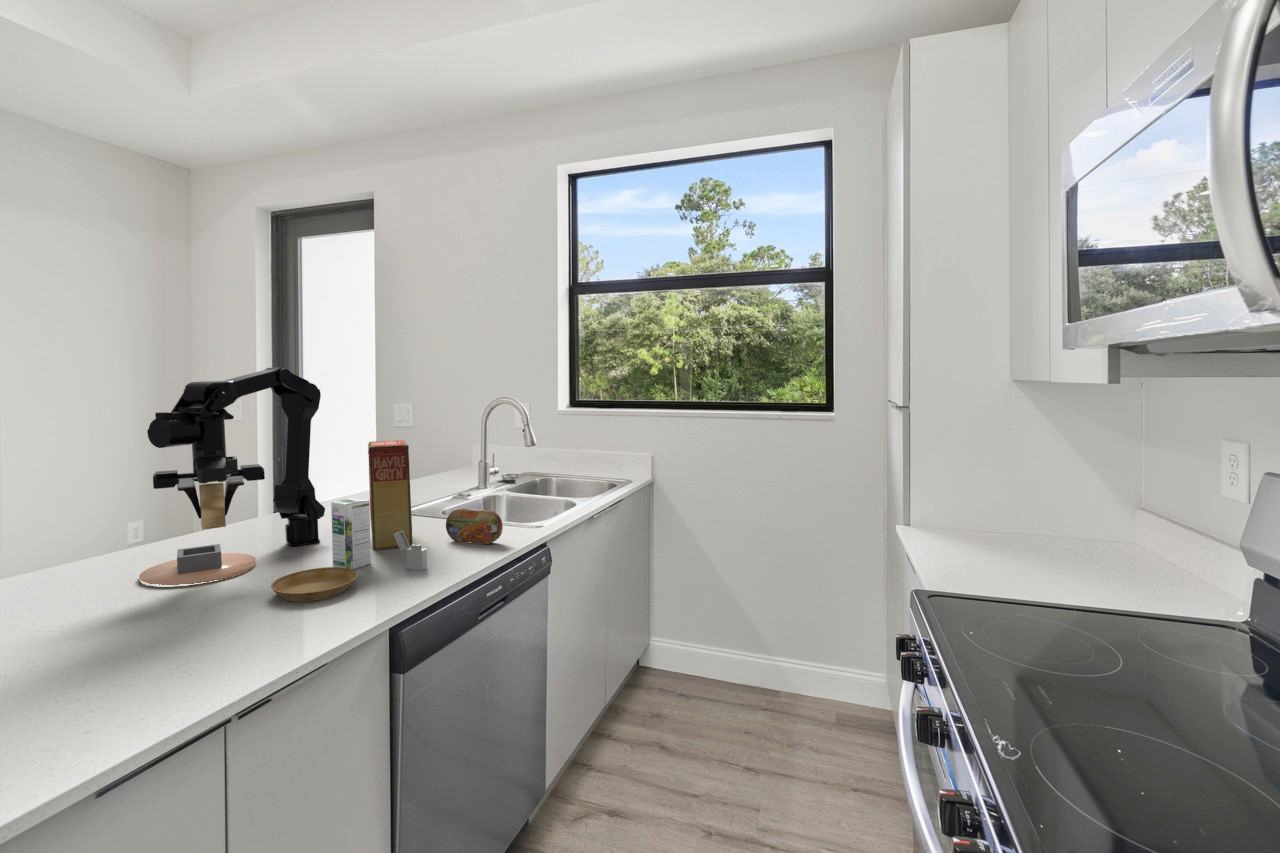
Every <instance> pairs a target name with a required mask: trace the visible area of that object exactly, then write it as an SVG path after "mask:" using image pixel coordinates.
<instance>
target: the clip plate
mask: <svg viewBox="0 0 1280 853" xmlns="http://www.w3.org/2000/svg"><path fill="white" fill-rule="evenodd" d="M255 565H257V560H256V557H255V556H253V555H251V554H247V553H240V552H239V553H238V552H222V549H221V544H220V543H217V544H209V545H200V546H194V547H186V548H185V547H184V548H178V549H177V554H176V559H173V560H170V561H167V562H166V561H165V562H163V563H159V564H155V565H153V566H150V567H149V568H146V569H145V570H143V571H142V572H140V574H139V576H138V579H140V580H141V581H143V582H146V583H149V584H159V585H160V584H161V585H179V584H194V583H201V582H209V581H214V580H221V579H225V578H229V577H232V576H235V575H238V574H241V575H243V574H245V573H244V572H246V571H248V570H250V569H251V570H252V568H253V567H254V566H255ZM255 567H256V566H255ZM255 567H254V568H255ZM254 568H253V569H254ZM251 570H250V571H251ZM248 572H249V571H248ZM242 573H243V574H242ZM246 573H247V572H246ZM238 576H239V575H238ZM235 577H236V576H235ZM232 578H233V577H232ZM229 579H230V578H229ZM140 580H139V581H140ZM225 580H226V579H225ZM221 581H222V580H221Z"/></svg>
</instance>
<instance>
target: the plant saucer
mask: <svg viewBox="0 0 1280 853" xmlns="http://www.w3.org/2000/svg"><path fill="white" fill-rule="evenodd" d="M357 577H358V572H357V571H356V570H355V569H353V570H352V569H348V568H340V567H333V566H328V567H327V566H326V567H317V568H316V567H315V568H309V569H304V570H300V571H296V572H292V573H289V574H286V575H283V576H281V577H279V578H277V579H275V580H273V581H272V583H271V584H270V588H271V590H272V591H273V592H275V594H276V595H278V596H279V597H281V598H283V599H285V600H287V601H289V600H290V602H298V601H303V602H312V601H320V600H321V601H322V600H324V599H329V598H332V597H335V596H338V595H340V594H341V593H343V592H345V591H346V590H347V589H349V588H350V586H351V585H352V584H353V582H354V581H355V580H356V579H357Z"/></svg>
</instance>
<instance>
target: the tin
mask: <svg viewBox="0 0 1280 853" xmlns="http://www.w3.org/2000/svg"><path fill="white" fill-rule="evenodd" d="M445 529H446V532H447V535H448V536H449V538H450V539H451V540H453V541H454V542H456V541H457V542H456V543H461V542H471V543H470V544H473V543H481V544H480V545H484V544H486V545H490V544H492V543H493V542H496V541H498V539H499V538H500V537H501V535H502V533H503V529H504V528H503V521H502V518H501V517H500V515H499V514H498V513H497V512H495V511H493V510H491V509H490V510H489V509H474V508H473V509H472V508H459V509H456V510H453V511H451V512H450V513H449V515H448V516H447V518H446V521H445Z"/></svg>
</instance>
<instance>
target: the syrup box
mask: <svg viewBox="0 0 1280 853" xmlns="http://www.w3.org/2000/svg"><path fill="white" fill-rule="evenodd" d="M330 511H331V512H330V513H331V542H332V543H331V544H332V548H331V550H332V567H340V568H348V569H352V570H356V569H359V568H362V567H364V566H365V567H366V566H368V565H370V564H371V563H372V561H371V560H372V556H371V550H372V549H371V548H372V547H371V544H372V543H371V516H370V499H369V500H365V499H358V498H353V497H352V498H351V497H350V498H342V499H336V500H334V501H331V509H330Z"/></svg>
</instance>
